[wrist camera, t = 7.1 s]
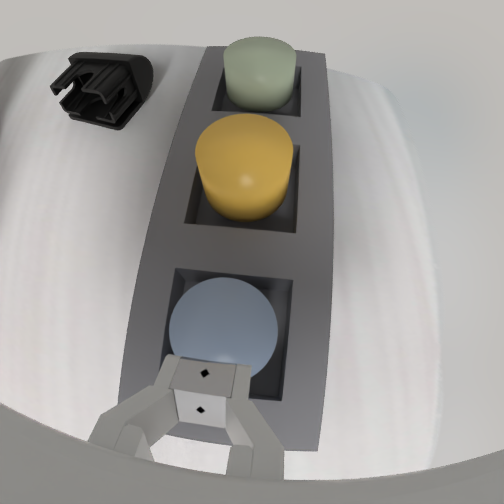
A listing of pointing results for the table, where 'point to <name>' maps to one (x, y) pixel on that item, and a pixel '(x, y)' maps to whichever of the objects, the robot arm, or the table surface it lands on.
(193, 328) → the slate button
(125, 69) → the end cap
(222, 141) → the amber button
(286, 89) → the sage button
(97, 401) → the table surface
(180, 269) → the button console
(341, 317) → the table surface
